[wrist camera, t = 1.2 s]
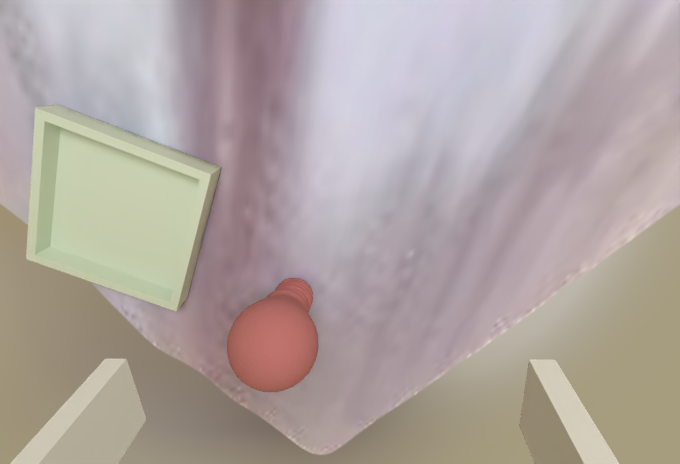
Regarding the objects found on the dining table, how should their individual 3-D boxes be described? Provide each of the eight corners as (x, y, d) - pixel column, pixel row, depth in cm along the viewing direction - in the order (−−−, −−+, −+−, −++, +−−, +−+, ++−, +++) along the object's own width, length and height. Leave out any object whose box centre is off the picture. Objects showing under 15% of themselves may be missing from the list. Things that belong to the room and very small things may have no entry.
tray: (46, 247, 40) (26, 259, 38) (57, 104, 34) (35, 107, 32) (187, 297, 41) (176, 311, 39) (221, 167, 35) (211, 174, 33)
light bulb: (244, 272, 39) (194, 354, 28) (308, 246, 38) (282, 321, 27) (278, 327, 42) (245, 423, 31) (340, 305, 40) (328, 397, 29)
